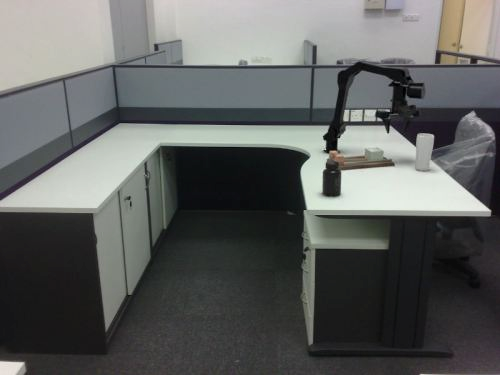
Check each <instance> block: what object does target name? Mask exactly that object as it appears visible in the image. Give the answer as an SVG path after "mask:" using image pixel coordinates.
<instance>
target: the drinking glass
mask: <svg viewBox="0 0 500 375" xmlns="http://www.w3.org/2000/svg"><path fill="white" fill-rule="evenodd" d="M415 141H416V144H415V169H416V171H420V172H426V171H429V168H430V165H431V164H430V163H431V158H432V154H433V149H434V143H435V142H434V141H435V135H434V134H431V133H418V134H417V136H416V140H415Z"/></svg>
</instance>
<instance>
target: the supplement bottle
mask: <svg viewBox="0 0 500 375" xmlns="http://www.w3.org/2000/svg"><path fill="white" fill-rule="evenodd" d="M338 168H339V162H337V161H327V160H326V162H325V168H324V169H323V171H322V184H321V185H322V186H321V187H322V189H321V190H322V194H323V195H324V196H326V197H338V196H340V194H342V170H340V169H338Z"/></svg>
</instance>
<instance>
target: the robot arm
mask: <svg viewBox="0 0 500 375" xmlns="http://www.w3.org/2000/svg"><path fill="white" fill-rule="evenodd" d="M361 72H367V73H371V74H375V75H379V76H384V77H386V78H388V79H390V80H392V81H391V82H390V83H389V84H387V86H388V87H391V88H392V95H391V96H392V97H391V99H390V102H391V108H389V111H388V110H386V109H380V110H376V111H375V113H374V114H375V115H374V117H375V118H378V119H379V120H381V122H382V123H383V125H384V127H385V131H386V133H387V134H390V131H391V130H390V129H391V128H390V127H391V121H392V118H390V117H395V116H397V117H398V116H400V118H402V132H403V133H406V131H407V129H408V127H409V125H410V124H411V121H413V120H415V119H416V118H417V117H418V118H419V117H420V116H421V111H420V109H417V106H416V104H410V105H408V100H407V97H408V98H409V99H413V100H414V99H416V100H417V99H418V100H424V99H425V97H426V93H427V92H426V85H425V82H415V81H414V80H413V78H412V76H411V75H410V69H409V68H407V67H405V66H404V67H403V66H387V65H382V64H378V63H373V62H369V61H365V60H357V62H355V63H354V64H352V65H350V66H349V67H348V68H345V69H342V70H340V71H339V72H338V73H337V81H336V83H337V87H338V91H337V97H336V102H335V108H334V114H333V118H332V119H331V121H330V124H329V125H328V129H327V132H326V133H324V135H323V136H322V138H323V139H322V140H323V141H325V149H326V150H325V151H326V152H327V153H326V152H325V151H324V152H325V153H326V154H329V151H337V152H341V151H340V150H338V145H339V144H338V143H339V139H340V138H341V137H342V135H344V133H345V132H346V127H347V123H346V122H345V120H344V118H345V112H346V106H347V101H348V96H349V91H350V88H351V87H352V85H353V83H354V80H355V77H356V76H358V75H359V74H360V73H361Z"/></svg>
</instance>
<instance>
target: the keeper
mask: <svg viewBox="0 0 500 375" xmlns="http://www.w3.org/2000/svg"><path fill="white" fill-rule="evenodd" d="M384 152H385V151H384V150H383V149H382V148H379V147H366V148H364V155H365V159H367V160H369V161H370V160H382V159H383V156H384V154H385V153H384Z"/></svg>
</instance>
